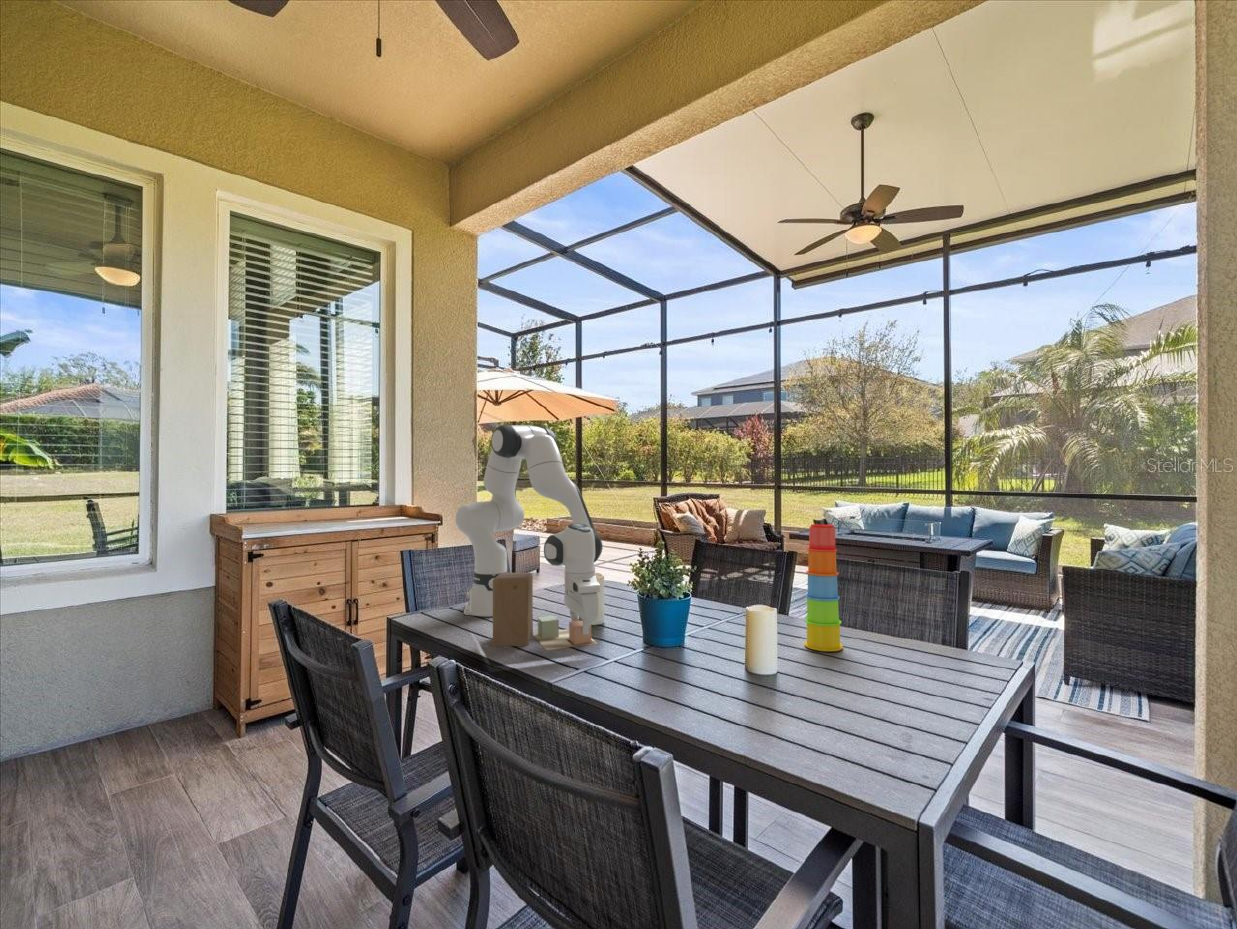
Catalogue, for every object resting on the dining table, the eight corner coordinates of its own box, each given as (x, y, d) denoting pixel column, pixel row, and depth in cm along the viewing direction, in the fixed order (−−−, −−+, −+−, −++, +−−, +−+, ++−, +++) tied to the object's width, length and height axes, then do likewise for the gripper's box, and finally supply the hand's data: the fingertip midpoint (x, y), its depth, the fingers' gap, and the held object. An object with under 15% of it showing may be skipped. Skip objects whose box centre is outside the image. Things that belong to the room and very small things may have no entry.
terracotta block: (569, 639, 169) (569, 622, 169) (585, 637, 170) (585, 620, 170) (574, 644, 164) (574, 626, 164) (591, 642, 166) (591, 624, 166)
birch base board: (531, 637, 175) (531, 633, 175) (579, 631, 181) (579, 627, 181) (546, 654, 159) (546, 649, 159) (598, 647, 165) (598, 643, 165)
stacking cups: (797, 646, 165) (797, 524, 165) (816, 639, 172) (815, 522, 172) (831, 655, 158) (830, 527, 158) (849, 647, 165) (849, 525, 165)
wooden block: (527, 650, 163) (527, 578, 163) (492, 650, 163) (491, 578, 163) (533, 639, 173) (533, 572, 173) (499, 639, 173) (499, 572, 173)
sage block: (537, 634, 174) (537, 617, 174) (554, 632, 176) (554, 615, 176) (542, 638, 170) (542, 621, 170) (558, 636, 171) (558, 619, 171)
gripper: (559, 575, 176) (559, 621, 176) (580, 589, 157) (580, 640, 157) (579, 573, 178) (579, 619, 178) (602, 587, 159) (602, 637, 159)
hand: (579, 629), depth 167 cm, fingers open, 8 cm apart
